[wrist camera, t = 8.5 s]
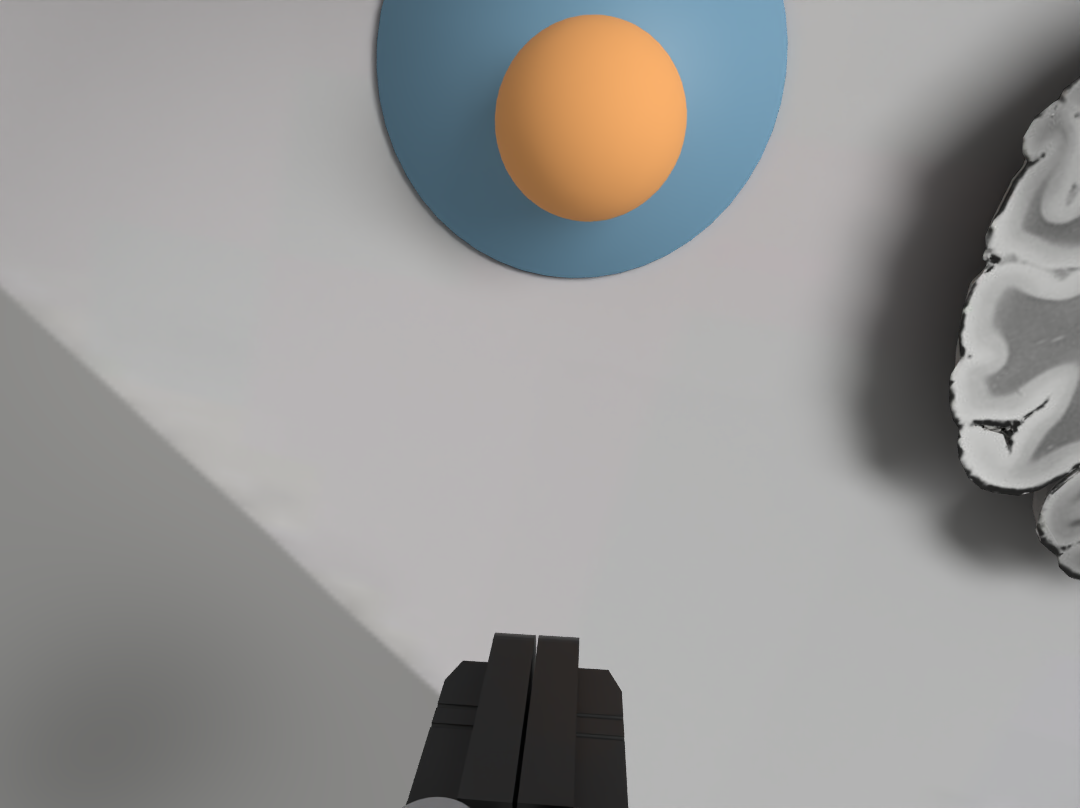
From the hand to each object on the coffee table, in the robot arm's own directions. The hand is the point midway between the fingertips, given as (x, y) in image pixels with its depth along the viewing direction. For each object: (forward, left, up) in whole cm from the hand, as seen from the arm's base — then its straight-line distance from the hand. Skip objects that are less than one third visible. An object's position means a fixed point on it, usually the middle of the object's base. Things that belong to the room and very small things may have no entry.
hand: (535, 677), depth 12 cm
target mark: (-12, 0, -14) cm, 18 cm away
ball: (-10, 0, -11) cm, 15 cm away
